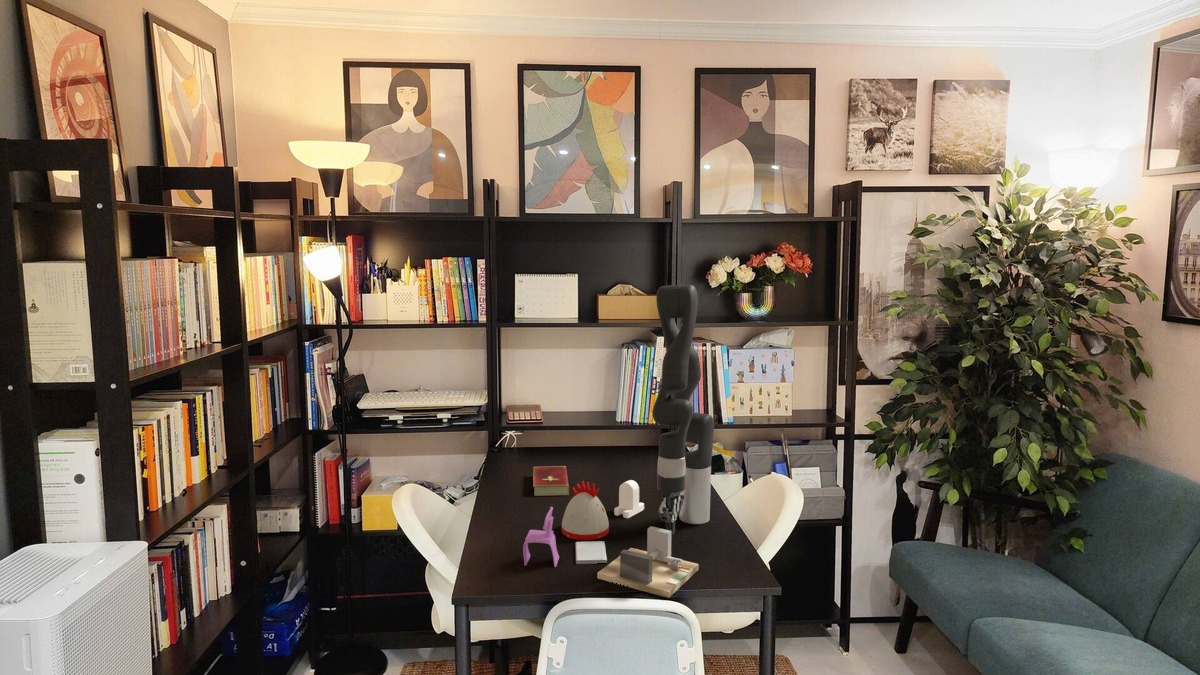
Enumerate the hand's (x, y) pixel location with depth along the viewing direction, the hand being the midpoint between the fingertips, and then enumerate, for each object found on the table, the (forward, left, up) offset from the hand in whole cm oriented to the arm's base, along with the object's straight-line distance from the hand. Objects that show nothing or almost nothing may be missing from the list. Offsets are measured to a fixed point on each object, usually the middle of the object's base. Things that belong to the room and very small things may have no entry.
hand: (670, 533), depth 204 cm
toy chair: (+21, -28, -7) cm, 35 cm away
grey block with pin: (+10, +8, -4) cm, 13 cm away
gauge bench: (+13, 0, -6) cm, 14 cm away
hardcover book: (-31, -60, -7) cm, 68 cm away
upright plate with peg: (+9, +2, -4) cm, 11 cm away
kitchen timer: (-3, -29, -7) cm, 30 cm away
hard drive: (+10, -19, -7) cm, 23 cm away
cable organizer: (-23, -25, -7) cm, 35 cm away
